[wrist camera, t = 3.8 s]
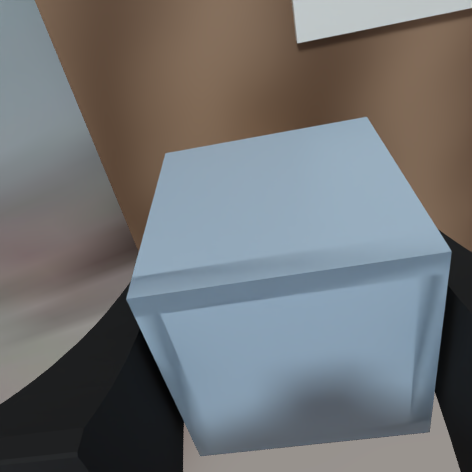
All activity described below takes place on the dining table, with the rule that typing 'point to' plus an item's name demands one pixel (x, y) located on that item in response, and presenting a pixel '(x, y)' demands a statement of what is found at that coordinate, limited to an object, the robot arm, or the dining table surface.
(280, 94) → the board
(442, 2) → the pad
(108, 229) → the dining table surface
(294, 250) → the light blue cube
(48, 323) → the dining table surface
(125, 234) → the dining table surface
